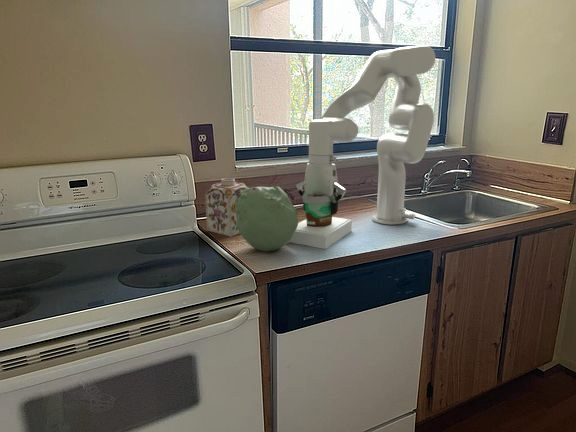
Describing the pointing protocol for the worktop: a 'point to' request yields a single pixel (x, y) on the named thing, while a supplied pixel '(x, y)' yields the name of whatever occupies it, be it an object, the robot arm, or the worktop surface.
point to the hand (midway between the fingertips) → (320, 212)
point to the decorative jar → (223, 206)
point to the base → (321, 233)
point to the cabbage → (265, 217)
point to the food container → (318, 210)
